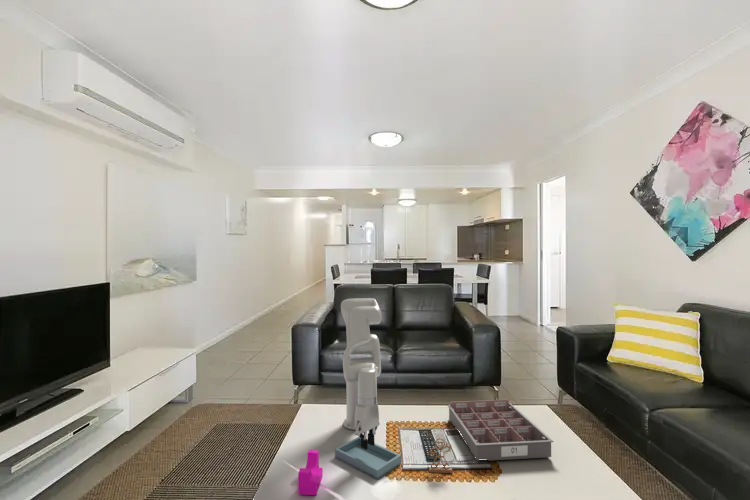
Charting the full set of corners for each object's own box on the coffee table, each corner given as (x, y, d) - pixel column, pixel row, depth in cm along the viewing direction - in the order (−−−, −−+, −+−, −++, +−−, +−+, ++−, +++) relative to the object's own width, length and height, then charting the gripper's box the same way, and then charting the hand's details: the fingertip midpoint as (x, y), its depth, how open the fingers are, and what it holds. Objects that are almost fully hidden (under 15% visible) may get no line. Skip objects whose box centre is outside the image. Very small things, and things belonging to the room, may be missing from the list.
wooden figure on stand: (428, 472, 145) (428, 440, 145) (428, 466, 149) (428, 435, 149) (452, 473, 145) (452, 441, 145) (451, 467, 149) (451, 436, 149)
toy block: (316, 495, 132) (316, 473, 132) (298, 494, 133) (298, 472, 133) (325, 470, 147) (325, 450, 147) (309, 469, 148) (309, 450, 148)
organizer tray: (475, 465, 150) (475, 440, 150) (447, 420, 190) (447, 400, 190) (554, 461, 153) (554, 436, 153) (509, 418, 193) (509, 398, 193)
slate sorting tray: (359, 444, 166) (359, 436, 166) (401, 464, 151) (401, 455, 151) (335, 457, 156) (335, 448, 156) (377, 480, 140) (377, 470, 140)
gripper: (374, 392, 162) (374, 436, 162) (345, 403, 150) (346, 451, 149) (387, 396, 157) (388, 441, 157) (359, 408, 145) (360, 457, 144)
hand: (367, 445), depth 153 cm, fingers open, 3 cm apart
